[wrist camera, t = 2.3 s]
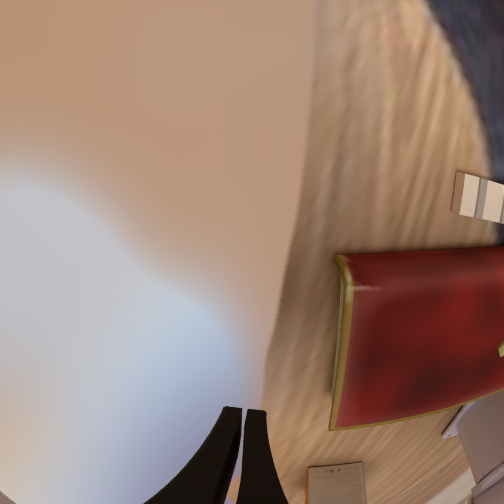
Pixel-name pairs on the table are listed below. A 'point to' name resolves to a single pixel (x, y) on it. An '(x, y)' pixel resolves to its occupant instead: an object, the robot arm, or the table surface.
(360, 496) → the small box
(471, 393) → the hardcover book
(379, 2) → the table surface
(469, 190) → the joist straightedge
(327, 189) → the table surface
